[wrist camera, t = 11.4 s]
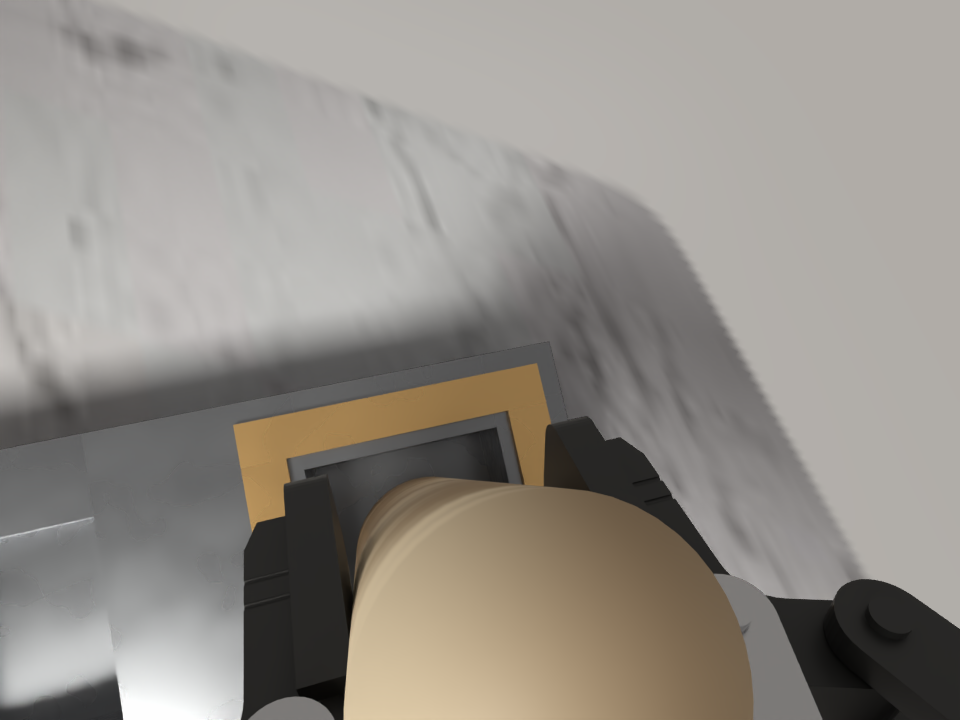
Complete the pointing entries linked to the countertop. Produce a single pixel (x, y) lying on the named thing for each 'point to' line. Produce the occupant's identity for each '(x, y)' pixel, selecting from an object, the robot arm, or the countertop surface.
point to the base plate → (221, 524)
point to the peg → (535, 611)
